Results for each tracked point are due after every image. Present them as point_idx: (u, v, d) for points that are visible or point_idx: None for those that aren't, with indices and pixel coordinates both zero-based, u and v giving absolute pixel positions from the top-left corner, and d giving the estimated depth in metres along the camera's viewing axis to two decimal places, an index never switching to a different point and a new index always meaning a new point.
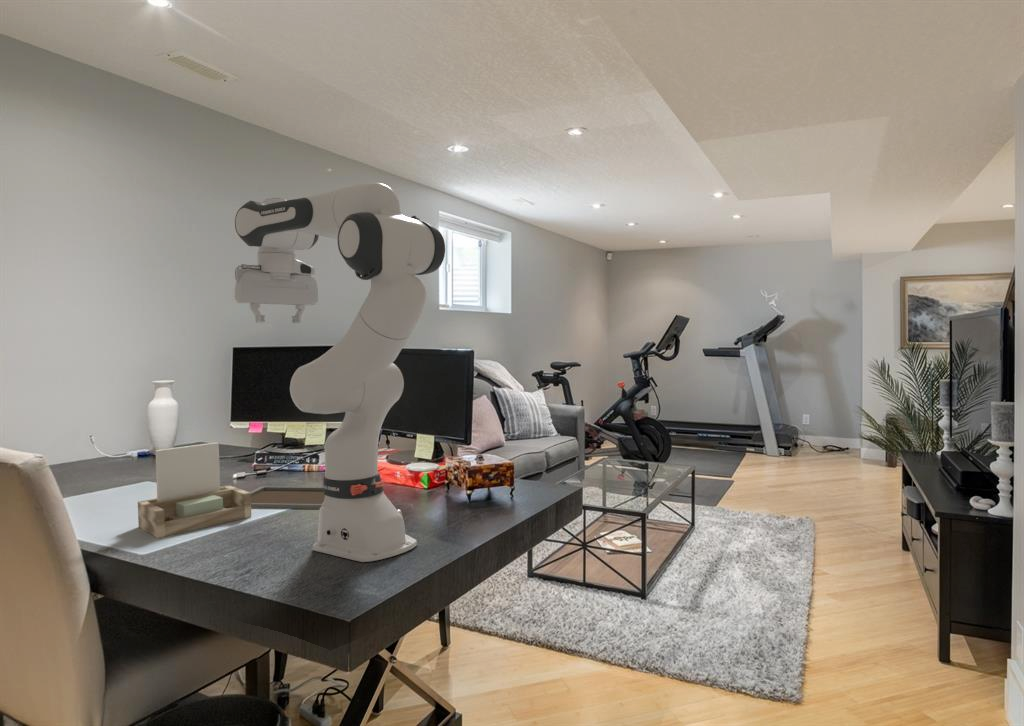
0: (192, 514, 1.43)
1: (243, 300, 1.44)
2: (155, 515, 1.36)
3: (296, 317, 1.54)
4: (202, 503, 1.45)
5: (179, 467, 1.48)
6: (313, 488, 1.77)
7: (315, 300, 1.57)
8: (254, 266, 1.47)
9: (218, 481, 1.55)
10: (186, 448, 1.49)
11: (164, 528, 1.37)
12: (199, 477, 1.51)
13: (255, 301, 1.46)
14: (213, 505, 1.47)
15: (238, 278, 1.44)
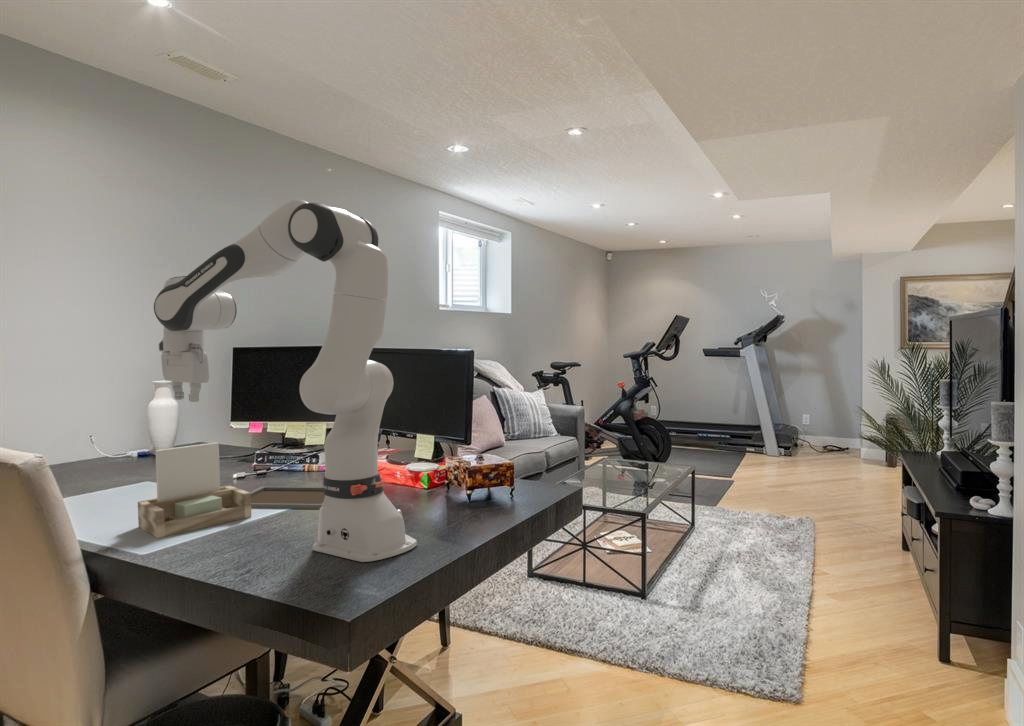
0: (192, 514, 1.43)
1: (208, 380, 1.44)
2: (155, 515, 1.36)
3: None
4: (202, 503, 1.45)
5: (179, 467, 1.48)
6: (313, 488, 1.77)
7: None
8: None
9: (218, 481, 1.55)
10: (186, 448, 1.49)
11: (164, 528, 1.37)
12: (199, 477, 1.51)
13: None
14: (213, 505, 1.47)
15: None
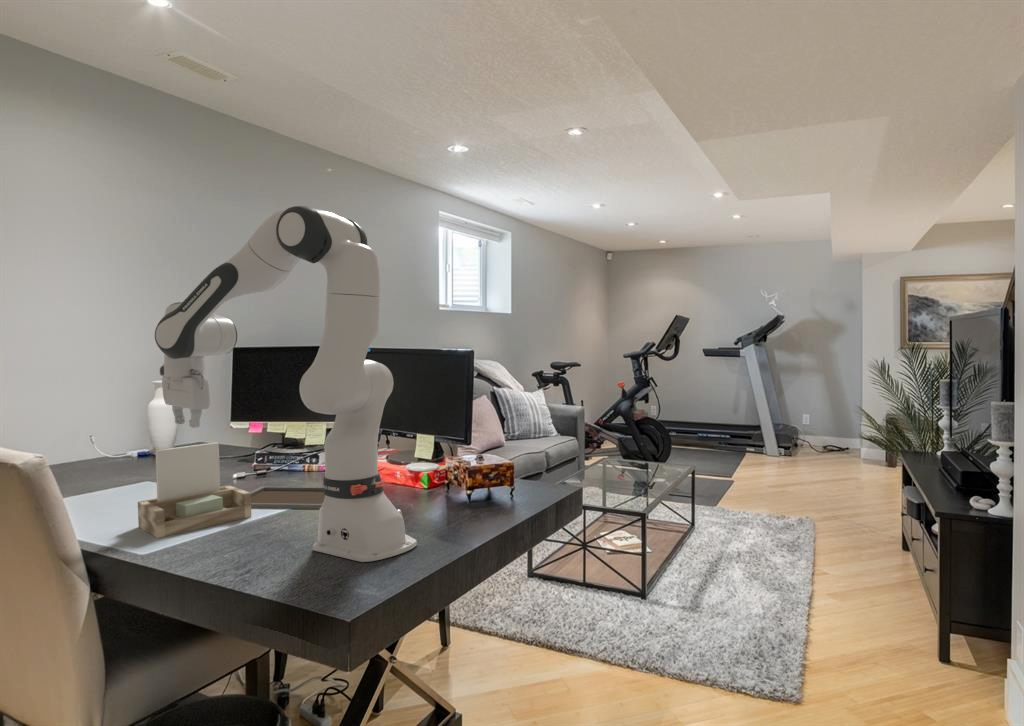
0: (193, 514, 1.44)
1: (208, 406, 1.45)
2: (155, 515, 1.36)
3: None
4: (203, 503, 1.45)
5: (179, 467, 1.48)
6: (313, 488, 1.77)
7: None
8: None
9: (218, 481, 1.55)
10: (186, 448, 1.49)
11: (164, 528, 1.37)
12: (199, 477, 1.51)
13: None
14: (214, 504, 1.48)
15: None
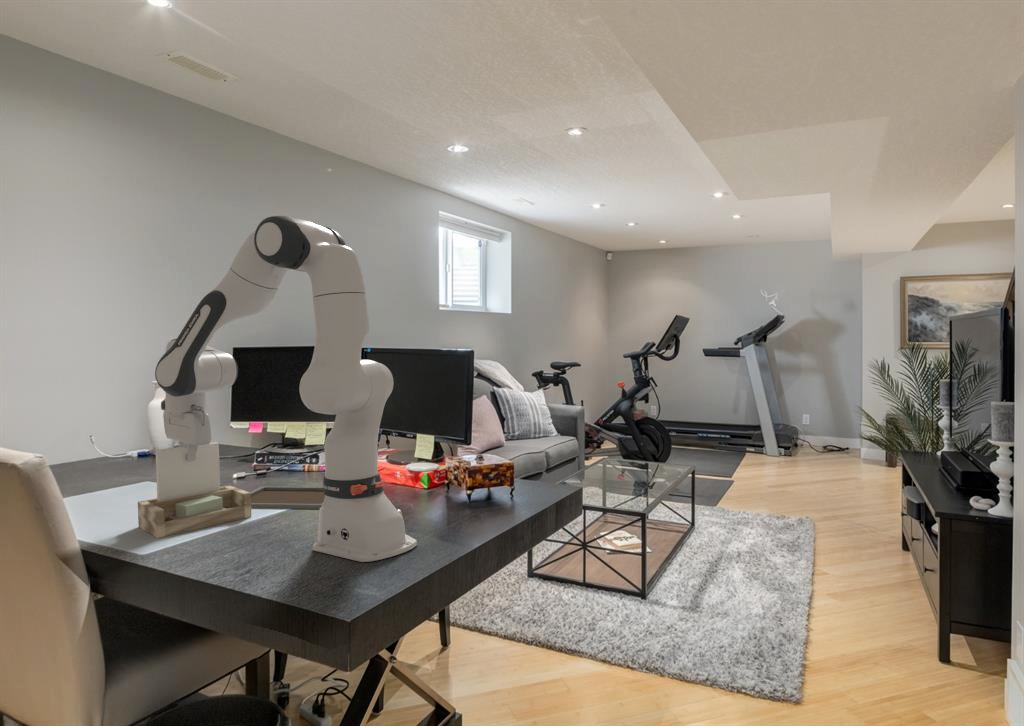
0: (194, 514, 1.43)
1: None
2: (155, 515, 1.36)
3: None
4: (203, 503, 1.45)
5: (179, 467, 1.48)
6: (313, 488, 1.77)
7: None
8: None
9: (218, 481, 1.55)
10: (186, 448, 1.49)
11: (164, 528, 1.37)
12: (199, 477, 1.51)
13: None
14: (214, 504, 1.48)
15: None
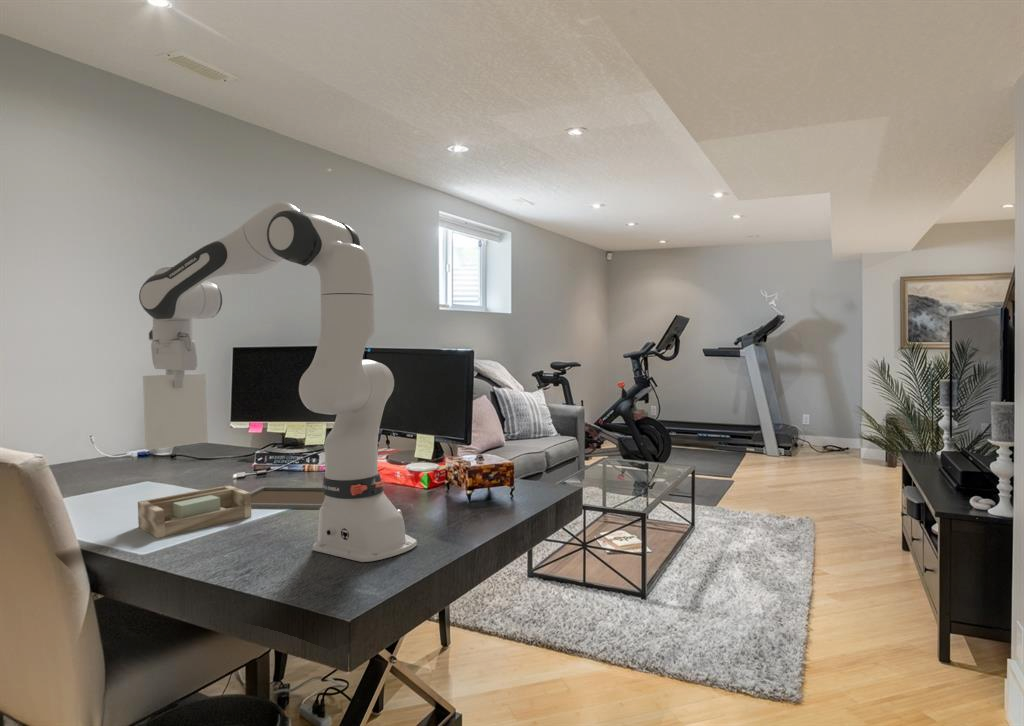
0: (190, 514, 1.43)
1: None
2: (155, 515, 1.36)
3: None
4: (199, 503, 1.45)
5: (166, 394, 1.52)
6: (313, 488, 1.77)
7: None
8: None
9: (205, 410, 1.59)
10: (173, 376, 1.53)
11: (164, 528, 1.37)
12: (186, 405, 1.55)
13: None
14: (211, 505, 1.47)
15: None
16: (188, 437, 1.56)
